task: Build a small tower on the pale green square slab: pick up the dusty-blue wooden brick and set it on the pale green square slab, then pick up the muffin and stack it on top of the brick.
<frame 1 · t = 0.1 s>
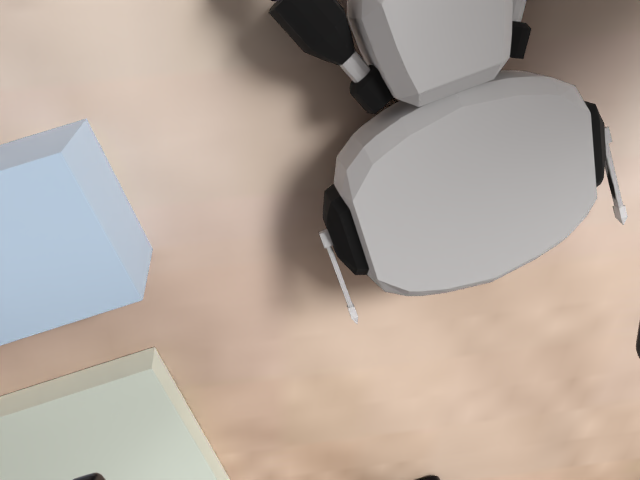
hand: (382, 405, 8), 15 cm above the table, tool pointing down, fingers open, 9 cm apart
robot toy: (422, 93, 21), on the table
pale green square slab: (92, 461, 27), on the table
brick: (51, 209, 21), on the table
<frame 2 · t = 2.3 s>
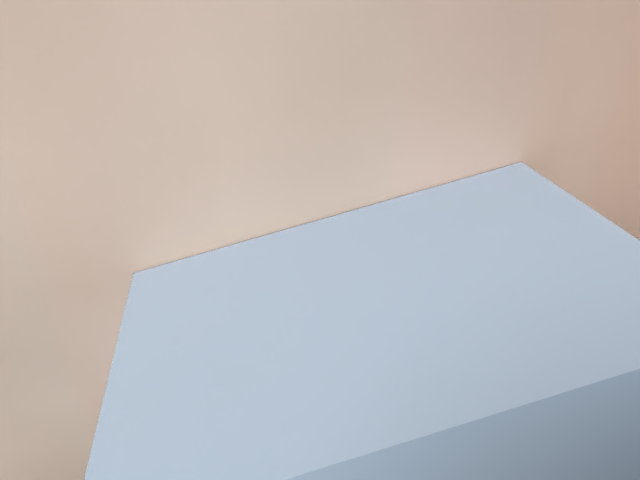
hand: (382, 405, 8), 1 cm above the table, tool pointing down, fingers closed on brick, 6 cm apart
brick: (365, 360, 9), on the table, touching gripper
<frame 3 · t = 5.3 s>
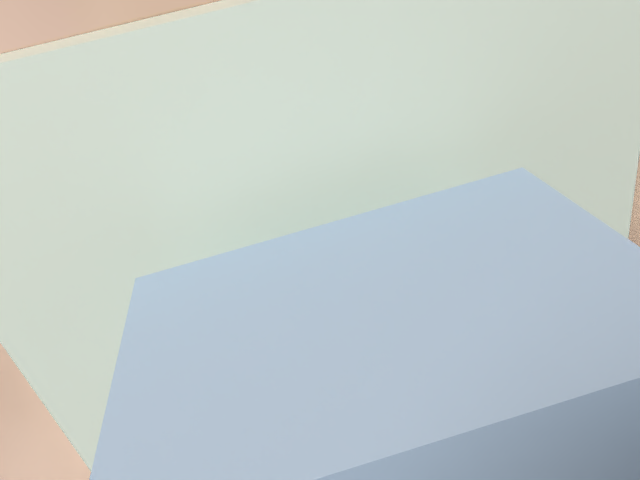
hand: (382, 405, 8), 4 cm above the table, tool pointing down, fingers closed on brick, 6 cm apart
pale green square slab: (332, 281, 11), on the table
brick: (366, 364, 9), point 3 cm above the table, touching gripper
when the fingers open (3 cm above the table, at t = 5.8 s): brick stays where it is, resting on pale green square slab.
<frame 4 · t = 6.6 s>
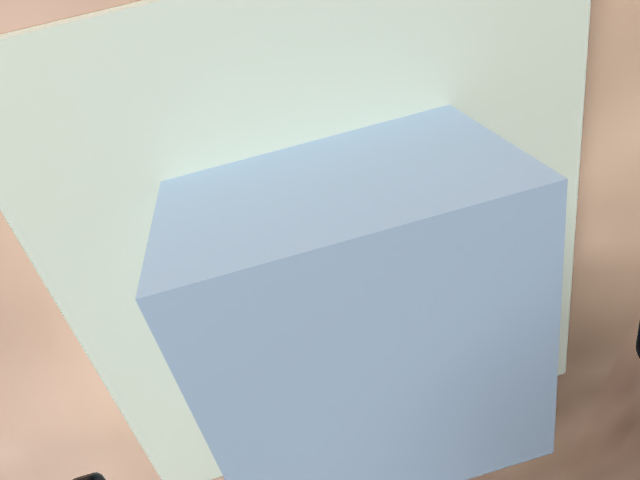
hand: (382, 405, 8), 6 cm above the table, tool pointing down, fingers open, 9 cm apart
pale green square slab: (321, 232, 13), on the table
brick: (335, 263, 12), point 1 cm above the table, touching pale green square slab
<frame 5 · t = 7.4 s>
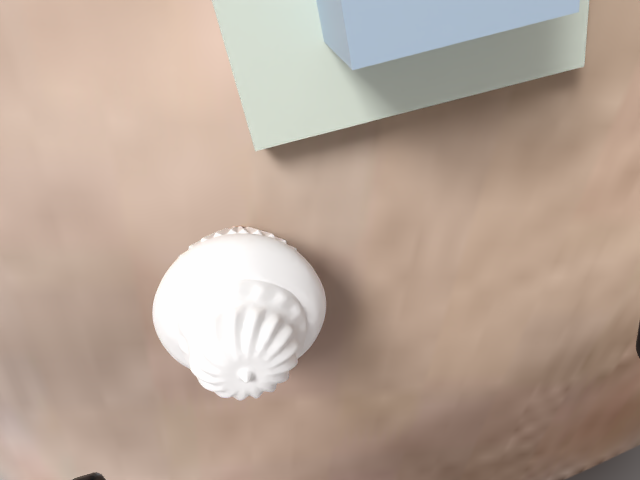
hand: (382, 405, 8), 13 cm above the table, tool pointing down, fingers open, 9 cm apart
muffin: (238, 256, 22), on the table
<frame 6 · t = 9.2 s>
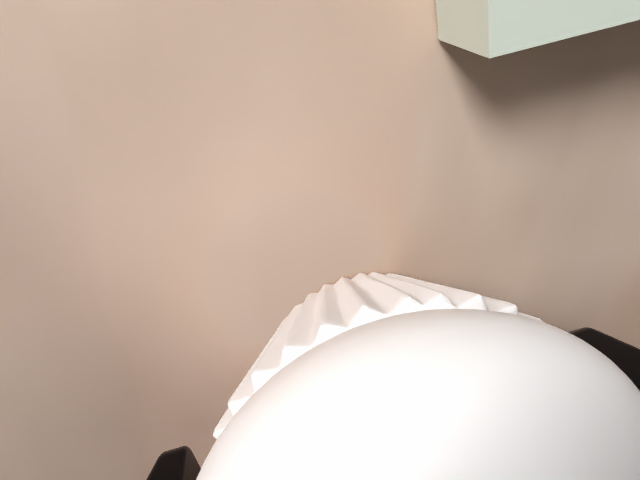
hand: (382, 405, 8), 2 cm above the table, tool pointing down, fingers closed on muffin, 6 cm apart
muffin: (356, 337, 10), on the table, touching gripper
when the fingers open (8 cm above the table, at t = 12.8 s): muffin stays where it is, resting on brick.
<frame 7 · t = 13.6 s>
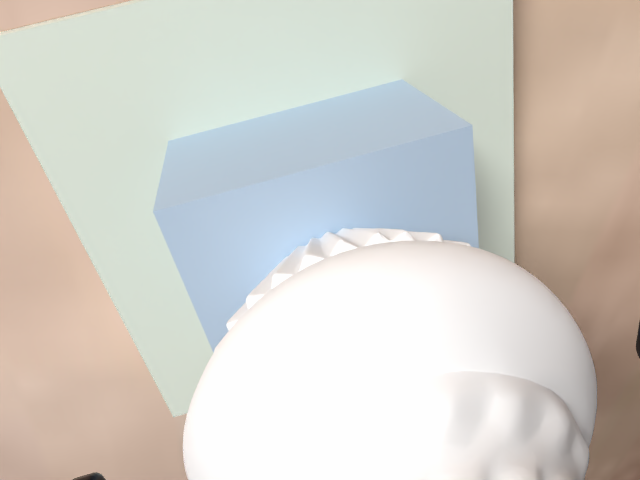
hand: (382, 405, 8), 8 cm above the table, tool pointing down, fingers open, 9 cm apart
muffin: (340, 289, 11), point 5 cm above the table, touching brick
pale green square slab: (302, 191, 15), on the table
brick: (312, 213, 14), point 1 cm above the table, touching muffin, pale green square slab
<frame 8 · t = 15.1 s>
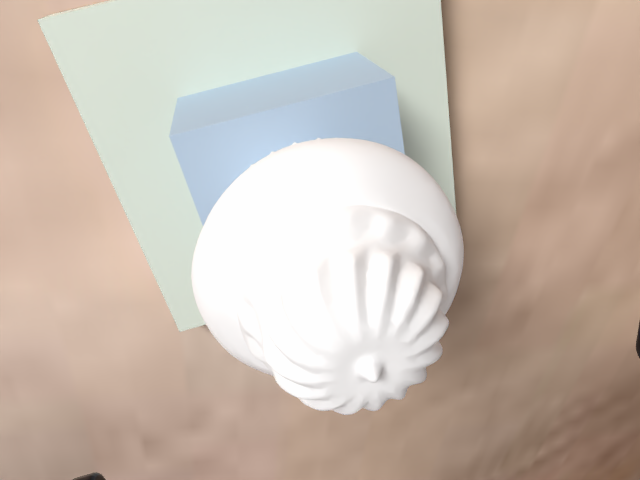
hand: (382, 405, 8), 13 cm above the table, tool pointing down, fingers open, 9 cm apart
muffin: (305, 203, 15), point 5 cm above the table, touching brick
pale green square slab: (282, 144, 19), on the table
brick: (289, 159, 18), point 1 cm above the table, touching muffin, pale green square slab
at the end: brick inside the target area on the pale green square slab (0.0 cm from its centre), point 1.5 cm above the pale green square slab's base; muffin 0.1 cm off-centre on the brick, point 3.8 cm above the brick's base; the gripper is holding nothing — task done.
